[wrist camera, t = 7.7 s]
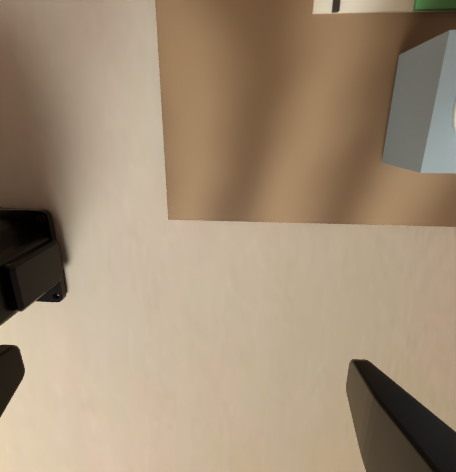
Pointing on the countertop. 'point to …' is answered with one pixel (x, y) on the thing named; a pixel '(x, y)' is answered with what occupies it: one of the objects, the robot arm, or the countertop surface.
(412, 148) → the force gauge
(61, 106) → the countertop surface
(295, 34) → the gauge board
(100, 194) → the countertop surface
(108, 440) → the countertop surface
